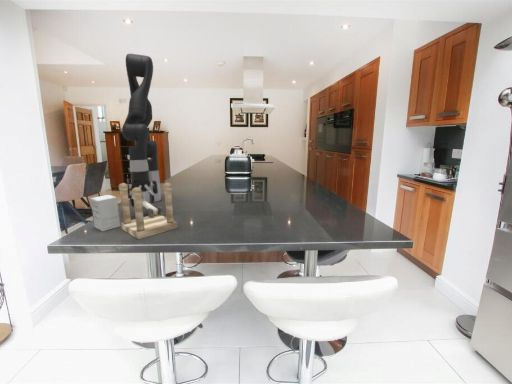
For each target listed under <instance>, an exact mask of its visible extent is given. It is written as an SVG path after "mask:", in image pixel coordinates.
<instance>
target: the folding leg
mask: <svg viewBox="0 0 512 384" xmlns="http://www.w3.org/2000/svg"><path fill="white" fill-rule="evenodd" d="M141 199H142V207H143V208H145V209H147V210H148V209H149V208H150V209H153V214H154V215H156V214H158V209H157V207H155V206H154V205H153V204H152V203H150V202H147V201H146V199H144V198H143V197H141Z"/></svg>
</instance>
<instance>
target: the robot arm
mask: <svg viewBox="0 0 512 384" xmlns="http://www.w3.org/2000/svg"><path fill="white" fill-rule="evenodd" d="M125 69H126V74H127V75H126V76H127V80H128V85H129V86H128V87H129V93H130V98H129V102H128V112H127V116H126V118H125V121H124V123H123V125H122V129H121V134H122V136H123V138H124V139H125V140H127V141H135V142H134V143H135V144H134V145H132V146H129V148H128V155H129V169H130V170H129V172H130V180H131V184H130V183H129V184H127V185H128V199H129V206H131V207H132V208H135V207H134V198H133V195H132V191H131V192H130V190H131V189H133V188H135V187H138V188H140V189H141V190H142V198H144V199H146V201H147V202H148V203H150V204H154V203H155V202H160V201H161V200H162V197H161V196H162V194H161V184H160V183H161V182H160V173H159V161H158V159H159V158H158V145H157V144H158V143H157V142H156V141H155V140H149V136H150V131H149V126H150V124H151V123H152V120H153V107H152V103H151V101H150V100H149V98H148V97H149V93H150V88H151V85H152V81H153V80H152V79H153V74H154V62H153V60H152V58H151V57H150V56H149V55H145V54H144V55H142V54H135V53H127V54H126V56H125ZM138 78H142V80H141V83H140V84H139V81H138ZM150 158H151V160H149V161H148V159H150Z"/></svg>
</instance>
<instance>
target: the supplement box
mask: <svg viewBox="0 0 512 384" xmlns="http://www.w3.org/2000/svg"><path fill="white" fill-rule="evenodd" d="M90 204H91V210H92V216H93V217H92V218H93V225H94V228H95V229H97V230H99V231H101V232H106V231H109V230H111V229H112V230H113V229H117V228H121V224H120V223H121V221H120V212H119V211H120V210H119V204H118V198H117V197H116V196H114V195H110V194H105V195H101V196H99V195H98V196H95V197H91V198H90Z"/></svg>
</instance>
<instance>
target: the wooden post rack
mask: <svg viewBox="0 0 512 384" xmlns="http://www.w3.org/2000/svg"><path fill="white" fill-rule="evenodd" d="M128 185H129V184H127V183H125V182H122V183H119V184H118V191H119V193H120V194H119V195H120V199H121V201H120V203H121V210H122V219H123V222H122V221H121V222H120V229H121V230H122V231H124V232H126V233H128V234H129V235H131V236H132V237H134V238H136V239H138V240H141V239H145V238H149V237H152V236H154V235H158V234H162V233H165V232H169V231H173V230H176V229H178V227H179V226H178V221H176V220H174V208H173V195H172V189H173V184H172V183H171V182H165V183H164V184H163V185H162V188H163V191H164V203H165V214H166V215H165V216H164V207H162V206H157V207H156V208H157V209H158V213H157V214H153V209H150V208H149V209H147V216H144V211H143V209H144V208H143V206H142V199H141V198H142V195H143V192H142V190H141V189H140V188H138V187H135V188H131V189H132V190H131V192H132V195H133V198H134V207H133V208H134V215H135V217H134V218H135V219H132V218H131V211H130V199H129V198H128Z"/></svg>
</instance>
